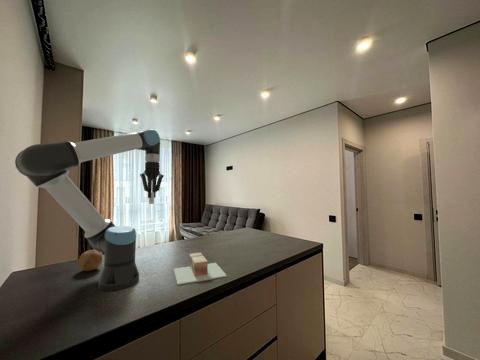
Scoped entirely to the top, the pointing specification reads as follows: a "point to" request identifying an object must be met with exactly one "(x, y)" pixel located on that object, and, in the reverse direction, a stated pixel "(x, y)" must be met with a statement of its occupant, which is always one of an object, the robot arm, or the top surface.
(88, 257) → the onion
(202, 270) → the wood block
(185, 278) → the rubber mat
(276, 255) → the top surface
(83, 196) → the robot arm
